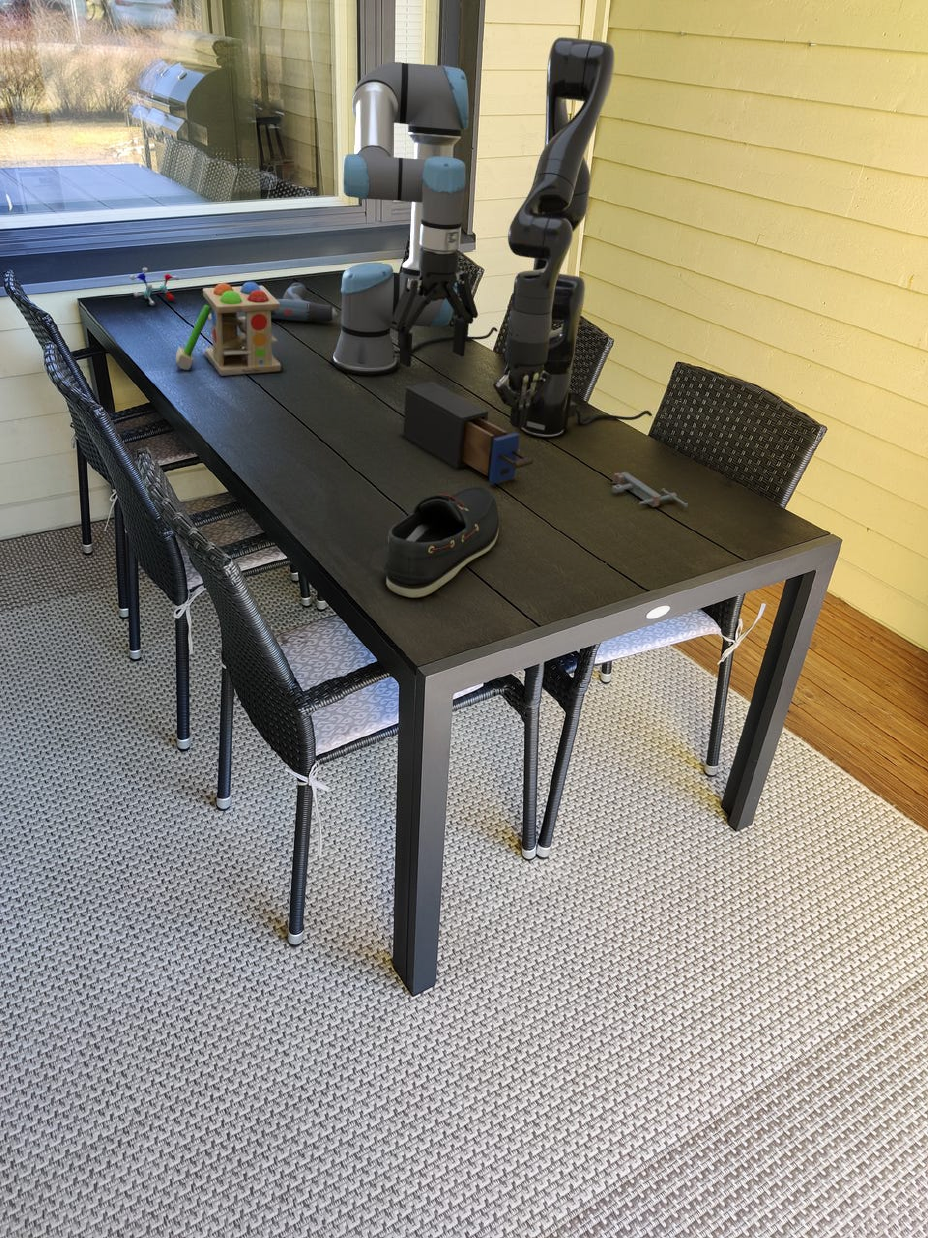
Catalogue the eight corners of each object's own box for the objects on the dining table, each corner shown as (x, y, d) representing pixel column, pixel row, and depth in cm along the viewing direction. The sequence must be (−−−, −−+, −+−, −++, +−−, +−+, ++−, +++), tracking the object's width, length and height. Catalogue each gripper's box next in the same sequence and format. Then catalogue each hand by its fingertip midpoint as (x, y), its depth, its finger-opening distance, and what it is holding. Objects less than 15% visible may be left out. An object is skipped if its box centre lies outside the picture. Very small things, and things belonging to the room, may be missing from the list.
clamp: (601, 475, 192) (641, 467, 197) (599, 485, 194) (639, 477, 198) (649, 509, 182) (690, 500, 186) (647, 519, 183) (688, 510, 188)
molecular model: (162, 296, 256) (148, 259, 255) (134, 310, 260) (120, 273, 259) (187, 299, 267) (174, 263, 265) (160, 312, 270) (147, 276, 269)
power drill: (344, 304, 276) (335, 327, 259) (277, 298, 275) (264, 321, 258) (344, 285, 273) (335, 306, 256) (277, 279, 272) (264, 300, 255)
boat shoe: (525, 530, 177) (530, 477, 171) (421, 604, 153) (423, 545, 147) (465, 510, 182) (468, 458, 177) (355, 579, 158) (355, 521, 153)
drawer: (532, 487, 188) (538, 444, 183) (510, 494, 185) (516, 451, 180) (460, 445, 202) (463, 404, 197) (438, 451, 198) (441, 409, 193)
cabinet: (483, 461, 198) (488, 411, 192) (457, 469, 195) (461, 417, 188) (428, 429, 209) (432, 381, 203) (403, 436, 205) (405, 386, 199)
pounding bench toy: (183, 379, 220) (176, 299, 210) (169, 357, 231) (162, 280, 221) (282, 371, 230) (280, 294, 220) (264, 350, 240) (262, 276, 230)
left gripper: (398, 260, 174) (392, 375, 186) (502, 247, 188) (491, 355, 200) (373, 250, 179) (370, 363, 191) (477, 237, 193) (467, 343, 205)
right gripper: (515, 346, 166) (504, 440, 176) (570, 335, 174) (556, 426, 184) (486, 333, 171) (477, 425, 181) (541, 322, 178) (529, 412, 188)
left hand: (432, 359), depth 195 cm, fingers open, 13 cm apart
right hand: (517, 425), depth 182 cm, fingers closed
